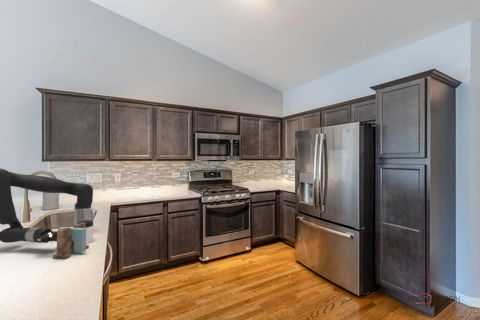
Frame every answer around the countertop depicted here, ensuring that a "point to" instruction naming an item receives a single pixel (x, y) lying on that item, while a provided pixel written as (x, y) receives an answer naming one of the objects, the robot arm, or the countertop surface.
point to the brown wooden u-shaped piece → (66, 242)
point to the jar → (88, 230)
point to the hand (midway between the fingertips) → (66, 236)
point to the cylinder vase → (50, 201)
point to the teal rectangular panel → (78, 238)
